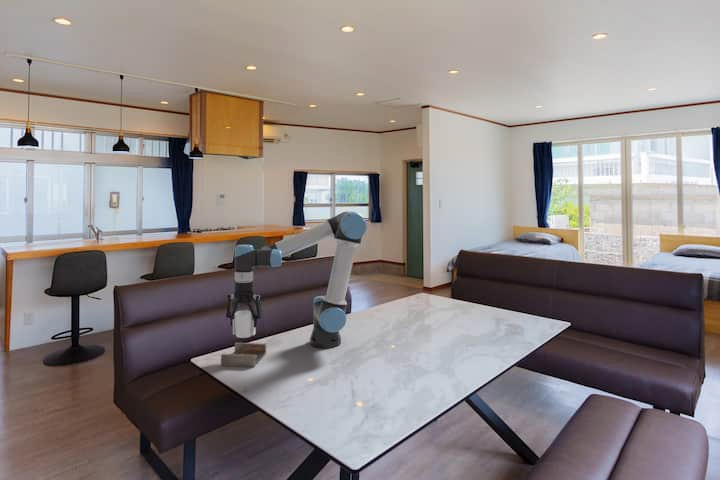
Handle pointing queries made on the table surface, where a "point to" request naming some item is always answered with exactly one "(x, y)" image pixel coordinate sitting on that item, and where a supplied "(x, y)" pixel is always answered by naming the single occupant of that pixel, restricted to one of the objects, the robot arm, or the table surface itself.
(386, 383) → the table surface
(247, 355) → the port dock
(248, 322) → the white cup
